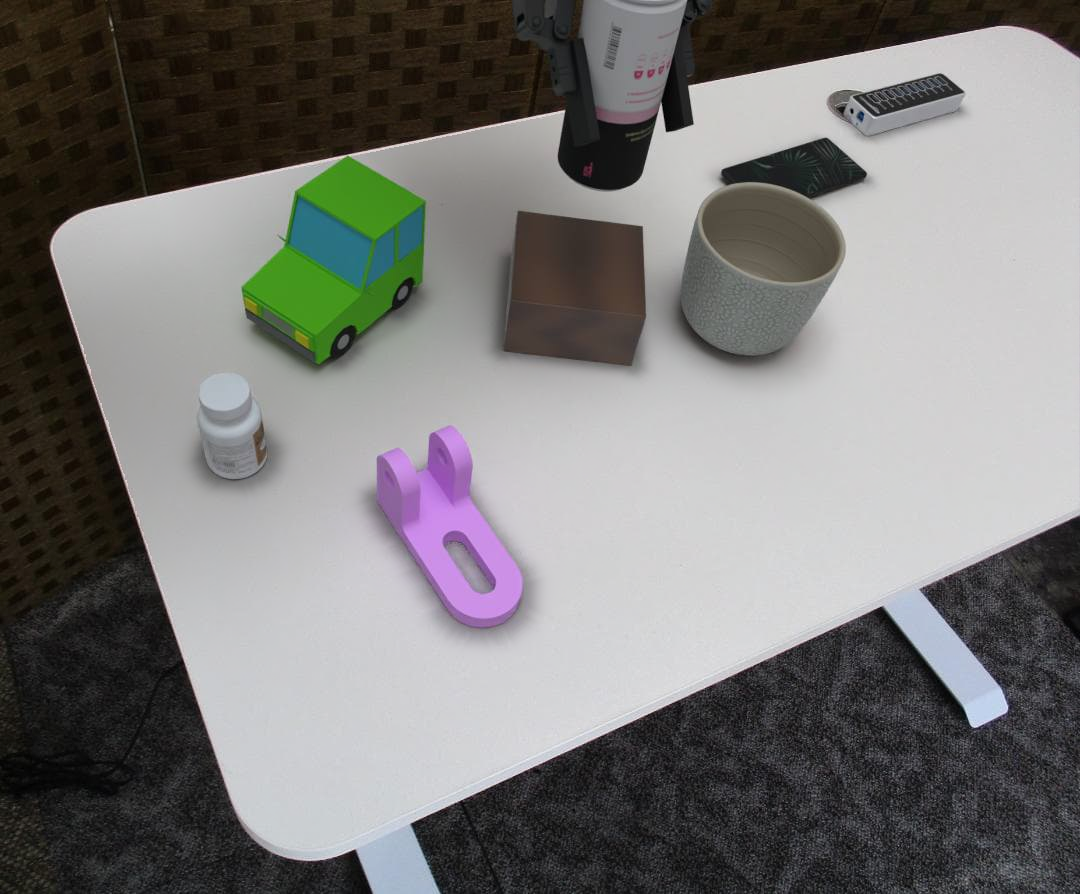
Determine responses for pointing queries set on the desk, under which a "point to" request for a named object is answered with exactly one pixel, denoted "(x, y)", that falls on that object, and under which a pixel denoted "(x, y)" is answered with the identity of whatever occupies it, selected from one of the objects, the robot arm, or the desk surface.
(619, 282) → the riser
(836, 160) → the smartphone
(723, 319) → the planter
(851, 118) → the multiport hub
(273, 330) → the toy car
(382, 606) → the desk surface
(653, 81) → the beverage can
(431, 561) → the bracket
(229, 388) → the pill bottle
